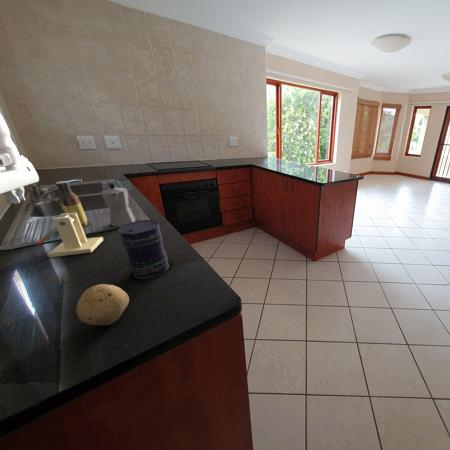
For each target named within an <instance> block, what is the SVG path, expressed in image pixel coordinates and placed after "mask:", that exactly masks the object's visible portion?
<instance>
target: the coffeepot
mask: <svg viewBox="0 0 450 450" xmlns="http://www.w3.org/2000/svg"><path fill="white" fill-rule="evenodd" d="M109 186H110V188H108V189H104V190H102V191H101V192H100V195H101V196H102V198H103V200H104V202H105V204H106V206H107V207H108V208H109V216H110V224H111V225H112V226H113V227H122V226H124V225H126V224H129V223H132V222H136V221H137V220H136V217H135V215H134V214H133V212H132V209H131V208H130V207H129V204H130V201H129V194H128V193H129V192H128V189H127V188H124V187H117V186H116V185H115V183H111V184H109Z"/></svg>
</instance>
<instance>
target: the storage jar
mask: <svg viewBox="0 0 450 450" xmlns="http://www.w3.org/2000/svg"><path fill="white" fill-rule="evenodd" d="M118 232H119V234H120V239H121V242H122V245H123V247H124V249H125V251H126V253H127V256H128V263H129V267H130V270H131V271H132V274H133V277H134V278H136V279H139V280H147V279H148V280H149V279H152V278H155V277H158V276H160V275H163V274H164V273H166V272H167V270H168V269H169V267H170V264H169V262H168V260H169V259H168V255H167V251H166V249H165V248H164V244H163V235H162V230H161V229H160V224H159V222H158V221H156V220H153V219H145V220H144V219H143V220H135V222H132V223H129V224H126V225H124V226H120V227H119V229H118Z"/></svg>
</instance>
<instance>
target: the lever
mask: <svg viewBox="0 0 450 450" xmlns="http://www.w3.org/2000/svg"><path fill="white" fill-rule="evenodd" d="M65 217H71V216H70V215H67V216H65ZM71 219H72V221H74V220H75V219H74V218H73V217H71ZM57 232H58V230H57V228H56V226H55V227H54V228H53V229H51V231H49V232H48V233H47V234H46V235H44V236H43V237H42V238H40V239H38V240H37V241H35V245H38V246H40V245H41V244H43V243H44V242H46V241H47V240H48V239H50V237H52V236H53V235H54V234H55V233H57Z"/></svg>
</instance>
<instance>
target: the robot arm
mask: <svg viewBox="0 0 450 450" xmlns="http://www.w3.org/2000/svg"><path fill="white" fill-rule="evenodd" d="M39 181H40V176H39V174H38V172H37V170H36V169H35V167H34V165H33V164H32V162H30V161H29V159H28V158H26V157H25V156H24V155H22V154H20V152H19V150H18V148H17V145H16V144H15V143H14V142H13V140H12V138H11V132H10V129H9V126H8V124H7V122H6V120H5V118H4V117H3V115H2V113H1V112H0V195H1V194H3V195H4V196H6V197H7V198H8V199H9V200H10V202H11V203H12V204H13V205H15V204H16V205H17V204H20V203H23V202H25V201H26V197H25V187H26V186H29V185H32V184H35V183H38V182H39Z"/></svg>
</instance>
